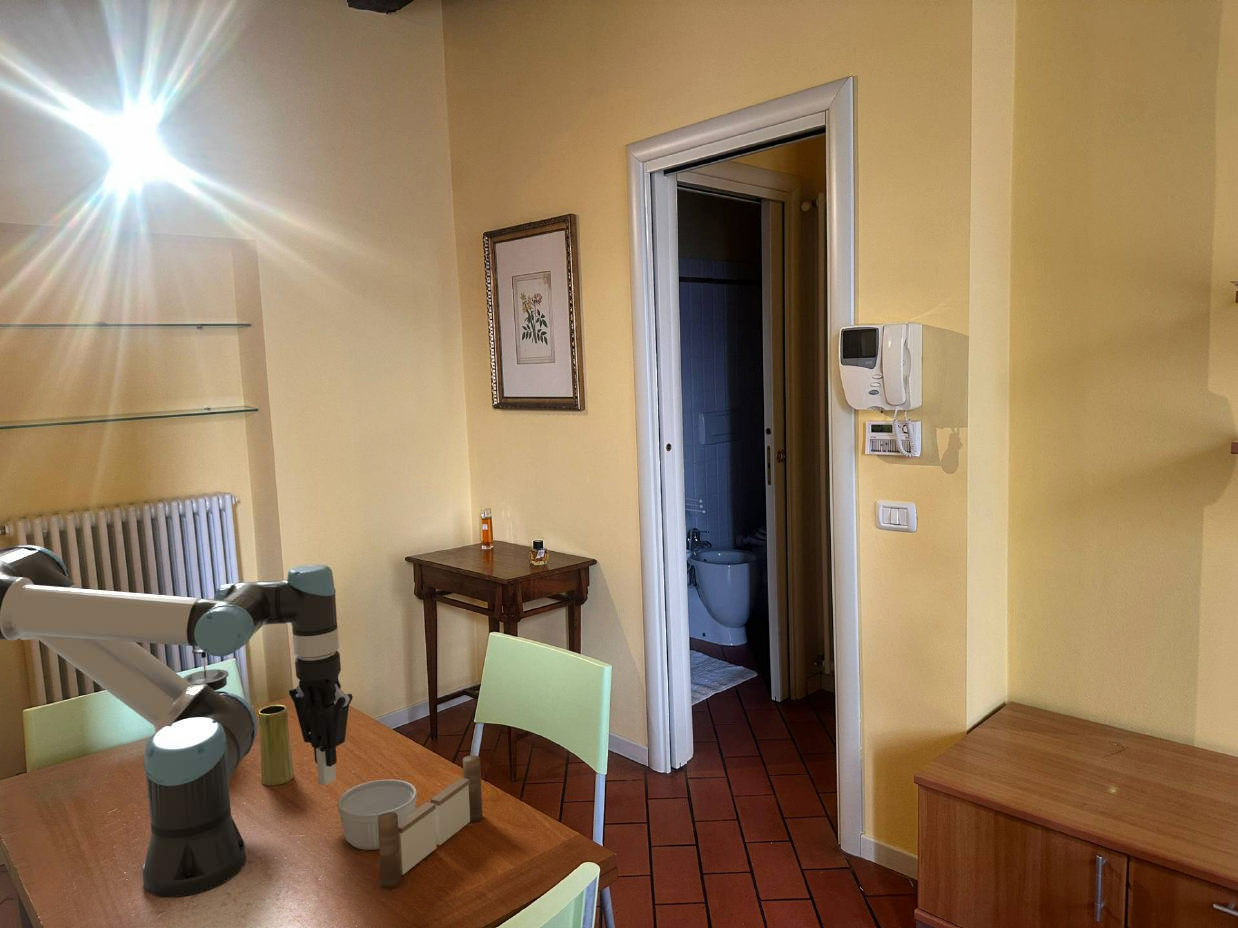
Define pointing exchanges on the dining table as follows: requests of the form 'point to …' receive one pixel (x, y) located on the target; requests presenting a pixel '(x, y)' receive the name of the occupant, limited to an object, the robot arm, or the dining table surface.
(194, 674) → the french press
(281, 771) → the vase
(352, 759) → the dining table surface
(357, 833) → the ramekin
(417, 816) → the left leaf
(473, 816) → the gate posts
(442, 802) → the right leaf
